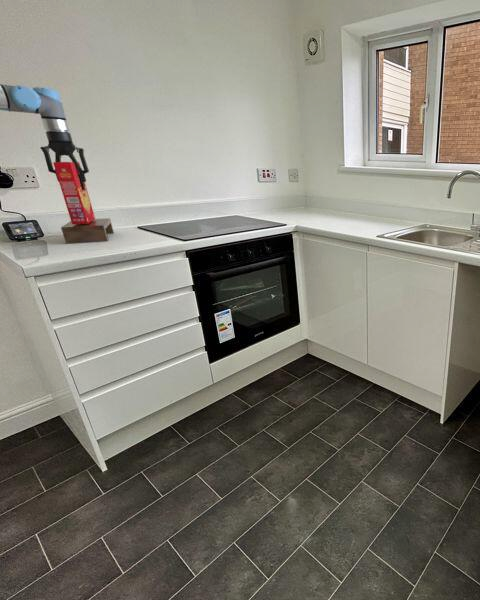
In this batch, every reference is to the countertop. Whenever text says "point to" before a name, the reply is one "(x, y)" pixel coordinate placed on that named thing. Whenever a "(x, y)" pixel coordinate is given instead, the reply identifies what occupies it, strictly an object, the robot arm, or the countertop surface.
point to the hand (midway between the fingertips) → (74, 189)
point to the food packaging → (74, 193)
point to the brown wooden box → (87, 231)
